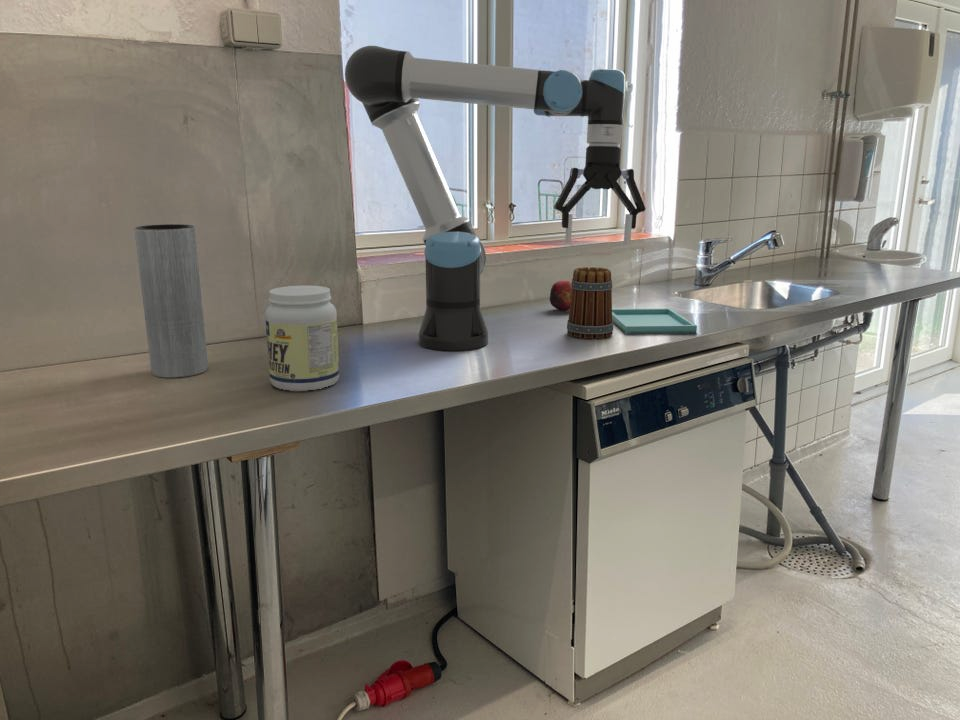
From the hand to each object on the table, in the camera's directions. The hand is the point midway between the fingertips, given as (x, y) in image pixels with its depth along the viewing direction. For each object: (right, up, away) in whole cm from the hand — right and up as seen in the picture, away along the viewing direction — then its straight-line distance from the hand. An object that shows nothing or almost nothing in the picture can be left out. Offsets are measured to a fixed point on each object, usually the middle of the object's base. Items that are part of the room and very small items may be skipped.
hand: (597, 243), depth 167 cm
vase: (-83, -29, -27) cm, 92 cm away
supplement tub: (-58, -31, -35) cm, 74 cm away
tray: (+15, -18, +13) cm, 27 cm away
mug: (-1, -20, +5) cm, 21 cm away
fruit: (-4, -13, +30) cm, 33 cm away
